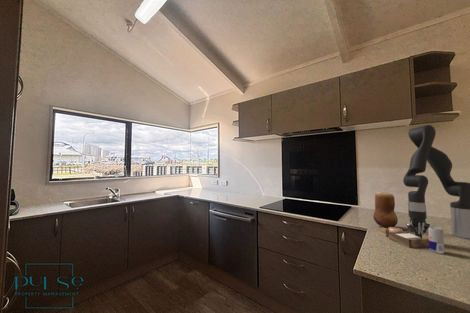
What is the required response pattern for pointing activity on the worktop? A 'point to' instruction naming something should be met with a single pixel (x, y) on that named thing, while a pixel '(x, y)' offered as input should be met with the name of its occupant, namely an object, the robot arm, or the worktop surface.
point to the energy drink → (436, 240)
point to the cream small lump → (395, 229)
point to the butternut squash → (385, 210)
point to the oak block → (384, 231)
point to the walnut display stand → (408, 240)
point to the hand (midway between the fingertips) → (418, 240)
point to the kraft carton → (409, 236)
